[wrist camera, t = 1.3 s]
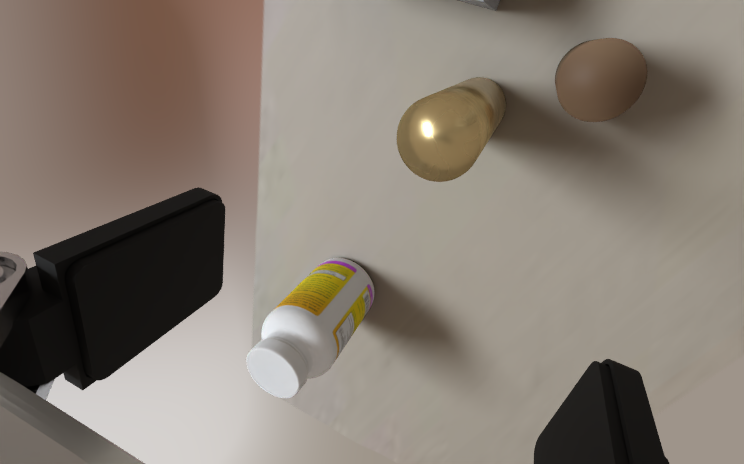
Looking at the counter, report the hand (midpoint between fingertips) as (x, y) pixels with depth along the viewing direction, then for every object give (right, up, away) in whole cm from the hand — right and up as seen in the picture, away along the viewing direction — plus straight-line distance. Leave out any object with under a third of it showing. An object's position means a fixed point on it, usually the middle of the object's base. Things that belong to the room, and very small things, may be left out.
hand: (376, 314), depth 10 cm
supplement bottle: (-3, -3, +30) cm, 31 cm away
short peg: (+14, +12, +16) cm, 24 cm away
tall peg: (+7, +11, +19) cm, 23 cm away
